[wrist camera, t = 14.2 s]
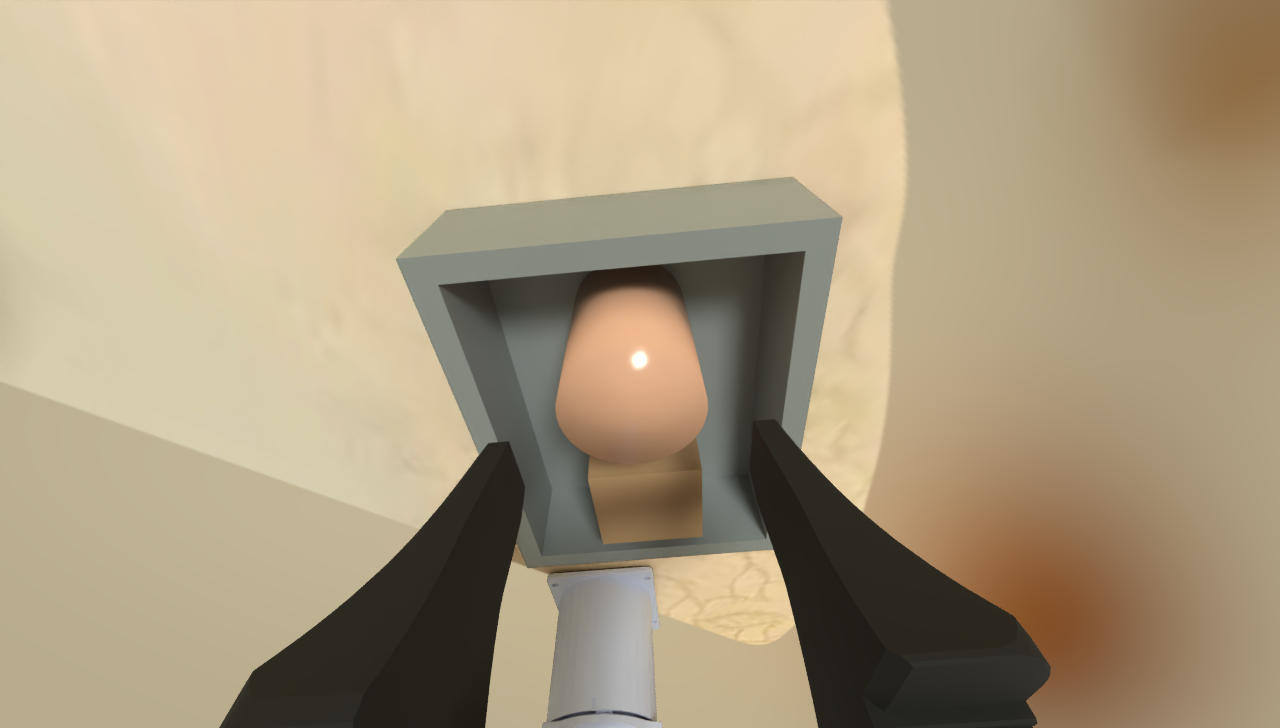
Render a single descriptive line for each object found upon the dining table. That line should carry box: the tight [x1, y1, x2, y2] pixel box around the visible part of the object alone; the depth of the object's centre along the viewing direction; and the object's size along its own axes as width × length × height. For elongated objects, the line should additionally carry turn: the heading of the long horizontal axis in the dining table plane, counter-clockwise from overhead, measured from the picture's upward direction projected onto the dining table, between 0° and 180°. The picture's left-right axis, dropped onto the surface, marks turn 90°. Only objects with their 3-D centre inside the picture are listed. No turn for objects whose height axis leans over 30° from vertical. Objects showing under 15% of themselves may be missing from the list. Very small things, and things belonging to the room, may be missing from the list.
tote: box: [396, 177, 842, 568], centre depth 21 cm, size 18×14×5 cm
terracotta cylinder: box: [556, 264, 708, 464], centre depth 18 cm, size 5×5×7 cm
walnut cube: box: [588, 437, 703, 544], centre depth 23 cm, size 5×5×5 cm
